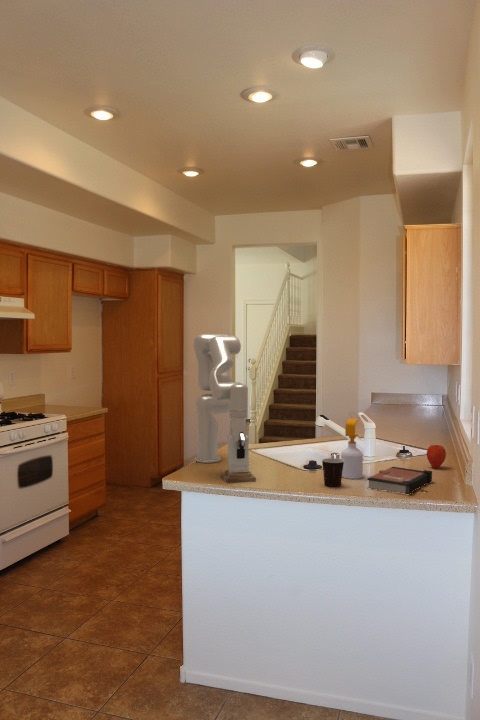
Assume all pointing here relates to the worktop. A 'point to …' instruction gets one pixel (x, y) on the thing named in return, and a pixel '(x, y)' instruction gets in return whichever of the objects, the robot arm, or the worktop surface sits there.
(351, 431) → the soap bottle
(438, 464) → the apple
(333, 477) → the coffee mug
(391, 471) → the book
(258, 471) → the worktop surface
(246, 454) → the skincare box
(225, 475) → the plinth
